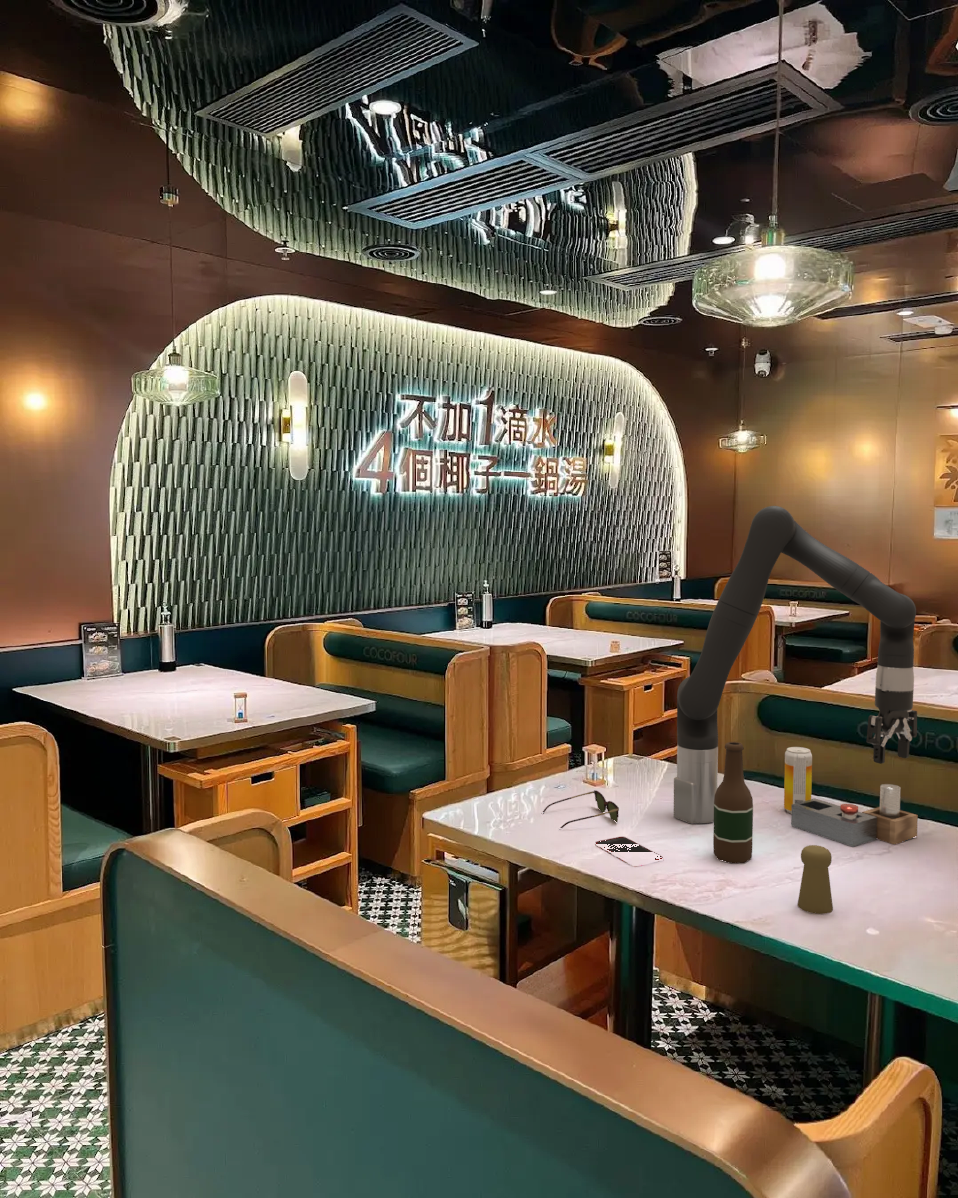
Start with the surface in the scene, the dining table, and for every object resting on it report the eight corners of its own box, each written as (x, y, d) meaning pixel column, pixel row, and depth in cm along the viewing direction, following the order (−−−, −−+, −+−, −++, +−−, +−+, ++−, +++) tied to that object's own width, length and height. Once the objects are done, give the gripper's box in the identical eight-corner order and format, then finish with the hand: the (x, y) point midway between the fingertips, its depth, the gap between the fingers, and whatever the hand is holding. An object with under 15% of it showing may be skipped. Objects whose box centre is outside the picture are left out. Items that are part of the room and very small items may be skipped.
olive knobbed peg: (791, 900, 167) (792, 842, 166) (823, 899, 168) (824, 840, 167) (806, 914, 161) (807, 854, 160) (839, 913, 162) (840, 853, 161)
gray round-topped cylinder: (891, 840, 198) (893, 790, 197) (874, 834, 201) (876, 786, 200) (902, 836, 200) (904, 787, 199) (886, 831, 203) (887, 783, 202)
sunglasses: (620, 827, 209) (619, 806, 208) (559, 839, 205) (558, 817, 205) (596, 808, 223) (594, 788, 222) (538, 819, 219) (537, 798, 218)
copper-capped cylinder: (850, 837, 197) (851, 810, 196) (836, 832, 200) (836, 805, 199) (861, 834, 199) (861, 807, 198) (846, 829, 202) (847, 802, 201)
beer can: (807, 807, 220) (808, 746, 219) (813, 816, 214) (815, 753, 213) (781, 807, 221) (782, 746, 219) (787, 815, 215) (788, 752, 213)
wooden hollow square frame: (894, 844, 195) (895, 821, 194) (861, 834, 202) (862, 811, 201) (916, 837, 199) (917, 815, 199) (883, 827, 206) (884, 805, 205)
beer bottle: (753, 852, 191) (754, 740, 189) (751, 866, 184) (753, 749, 182) (714, 848, 194) (716, 737, 192) (711, 861, 186) (713, 746, 184)
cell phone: (623, 840, 201) (623, 835, 201) (665, 862, 187) (665, 857, 187) (593, 846, 197) (593, 841, 197) (634, 869, 184) (634, 864, 184)
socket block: (852, 847, 194) (853, 824, 193) (791, 826, 207) (791, 804, 207) (876, 839, 198) (876, 817, 198) (814, 819, 212) (814, 798, 211)
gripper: (898, 680, 204) (895, 752, 206) (858, 686, 197) (855, 760, 198) (930, 686, 198) (926, 759, 199) (889, 692, 190) (886, 768, 192)
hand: (891, 760), depth 199 cm, fingers open, 8 cm apart
